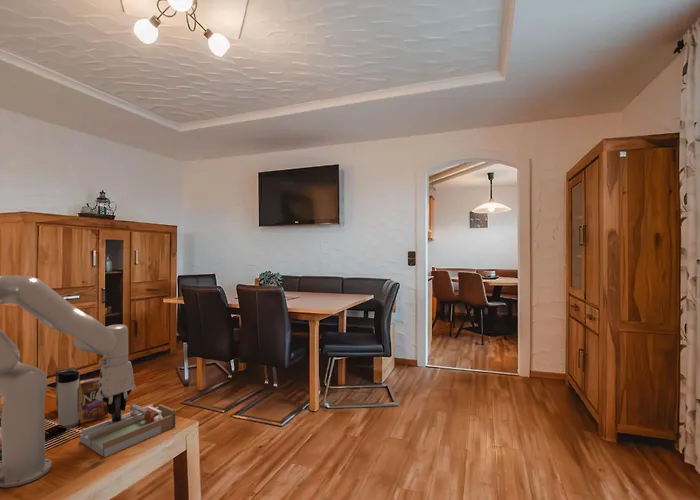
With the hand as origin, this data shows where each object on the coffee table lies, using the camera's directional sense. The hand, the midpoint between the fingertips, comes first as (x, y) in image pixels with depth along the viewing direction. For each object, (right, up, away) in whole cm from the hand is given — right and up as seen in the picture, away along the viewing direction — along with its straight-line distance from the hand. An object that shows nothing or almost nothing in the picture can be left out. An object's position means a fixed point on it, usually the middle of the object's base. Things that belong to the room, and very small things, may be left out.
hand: (116, 411), depth 134 cm
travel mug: (-21, -8, +6) cm, 24 cm away
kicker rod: (+5, -5, 0) cm, 7 cm away
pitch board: (+5, -8, -1) cm, 9 cm away
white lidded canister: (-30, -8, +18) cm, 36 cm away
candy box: (-15, -8, +11) cm, 20 cm away
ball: (+12, -5, +5) cm, 14 cm away
